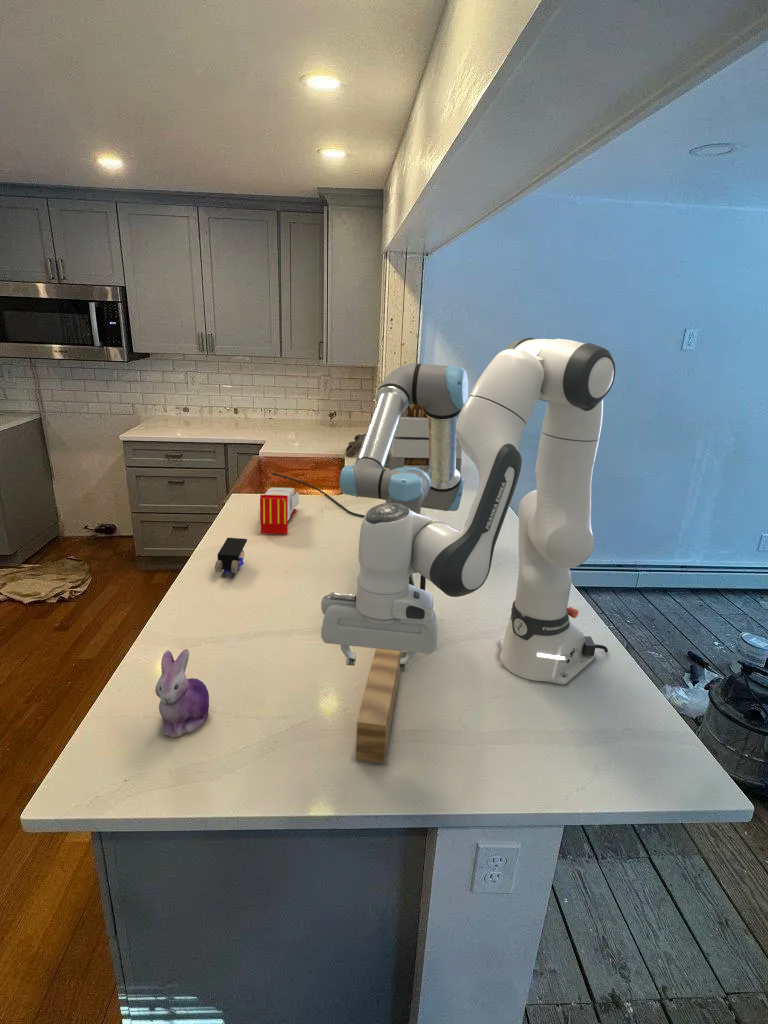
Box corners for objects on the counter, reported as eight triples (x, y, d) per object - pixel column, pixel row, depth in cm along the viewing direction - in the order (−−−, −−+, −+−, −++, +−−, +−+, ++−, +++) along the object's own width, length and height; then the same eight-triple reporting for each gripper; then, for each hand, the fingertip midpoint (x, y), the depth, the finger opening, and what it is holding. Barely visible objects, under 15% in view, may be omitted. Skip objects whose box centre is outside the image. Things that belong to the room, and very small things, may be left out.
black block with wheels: (238, 584, 162) (249, 557, 175) (236, 562, 158) (247, 536, 172) (215, 584, 161) (227, 556, 175) (212, 561, 158) (225, 535, 171)
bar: (390, 611, 149) (392, 583, 146) (409, 613, 148) (411, 585, 145) (355, 759, 99) (356, 722, 97) (384, 763, 99) (386, 725, 96)
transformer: (382, 463, 289) (386, 382, 275) (445, 464, 293) (451, 384, 279) (390, 482, 257) (394, 392, 243) (460, 483, 261) (468, 394, 247)
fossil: (345, 440, 316) (366, 424, 311) (356, 453, 319) (377, 438, 314) (339, 453, 297) (361, 437, 292) (350, 467, 300) (373, 452, 295)
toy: (300, 483, 219) (290, 497, 190) (300, 516, 222) (290, 535, 192) (269, 482, 219) (254, 495, 189) (269, 515, 221) (254, 534, 192)
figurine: (162, 747, 100) (154, 675, 95) (155, 711, 109) (147, 644, 103) (217, 731, 104) (212, 662, 99) (206, 698, 113) (201, 633, 108)
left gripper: (362, 541, 131) (359, 629, 139) (440, 548, 129) (433, 637, 137) (367, 529, 138) (364, 613, 146) (441, 536, 136) (434, 621, 144)
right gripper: (317, 600, 94) (316, 670, 99) (441, 612, 93) (433, 683, 97) (325, 583, 100) (323, 650, 105) (441, 594, 99) (433, 662, 103)
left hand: (397, 625), depth 141 cm, fingers closed on bar, 5 cm apart
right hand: (377, 666), depth 101 cm, fingers open, 8 cm apart
